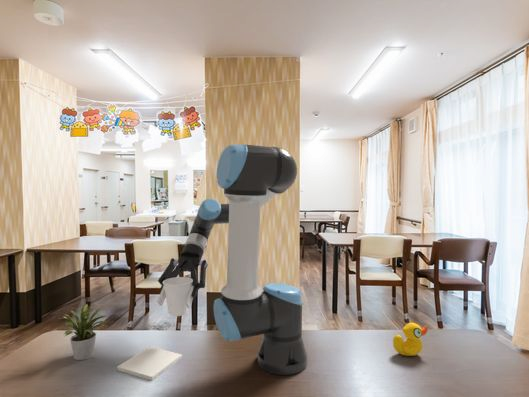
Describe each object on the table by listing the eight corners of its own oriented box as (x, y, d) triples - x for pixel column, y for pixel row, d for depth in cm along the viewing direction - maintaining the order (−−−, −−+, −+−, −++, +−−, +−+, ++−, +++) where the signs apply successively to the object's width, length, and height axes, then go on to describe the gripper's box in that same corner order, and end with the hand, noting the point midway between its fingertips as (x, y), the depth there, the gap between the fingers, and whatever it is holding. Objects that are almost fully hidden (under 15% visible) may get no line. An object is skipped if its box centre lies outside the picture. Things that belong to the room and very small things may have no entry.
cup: (185, 320, 102) (185, 285, 102) (157, 317, 104) (156, 284, 104) (197, 308, 112) (197, 277, 112) (171, 306, 114) (171, 276, 114)
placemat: (182, 357, 100) (182, 354, 100) (152, 380, 88) (152, 377, 88) (149, 349, 105) (149, 346, 105) (117, 370, 93) (117, 366, 93)
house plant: (78, 374, 91) (77, 317, 90) (43, 365, 95) (42, 311, 95) (116, 350, 104) (116, 301, 104) (84, 344, 109) (83, 296, 108)
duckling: (421, 349, 106) (421, 319, 106) (432, 357, 101) (432, 326, 100) (389, 351, 104) (389, 321, 104) (398, 360, 99) (399, 328, 99)
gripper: (224, 255, 120) (208, 312, 105) (171, 253, 125) (148, 307, 110) (219, 243, 115) (201, 302, 100) (163, 241, 120) (138, 297, 105)
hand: (173, 304), depth 105 cm, fingers closed on cup, 9 cm apart
